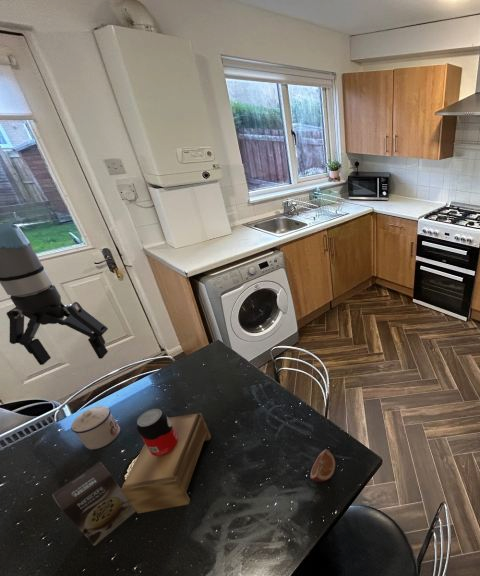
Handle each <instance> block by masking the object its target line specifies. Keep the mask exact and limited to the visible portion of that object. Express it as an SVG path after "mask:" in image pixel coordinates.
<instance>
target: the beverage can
mask: <svg viewBox="0 0 480 576" xmlns="http://www.w3.org/2000/svg"><path fill="white" fill-rule="evenodd" d="M168 418H169V417H168V415H167V413H166V412H164V411H162V410H161V409H160V408H152V409H149V410H147V411H145V412H143V413H141V415H139V417H138V419H137V420H136V423H137V424H136V430H137V432H138V434H139V436H140V437H141V439H142V440H143V443H144V444H146V446H147V447H148V449H149V451H150V453H151V454H152V455H154V456H161V455H164V454H167V453H168V452H170V451H171V450H172V449H173V448H174V447H175V446H176V444H177V442H178V437H177V435H176V433H175V431H174V429H173V427H172V425H171V423H170V421H169V419H168Z"/></svg>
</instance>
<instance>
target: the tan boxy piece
mask: <svg viewBox="0 0 480 576" xmlns="http://www.w3.org/2000/svg"><path fill="white" fill-rule="evenodd" d="M168 419H169V421H170V423H171V425H172V427H173V429H174V431H175V433H176V435H177V437H178V442H177V444H176V446H175V447H174V448H173V449H172V450H171V451H170V452H168V453H167V454H164V455H161V456H154V455H152V454H151V453H150V451H149V449H148V447H147V446H146V444H145V443H144V444H143V446H142V448H141V450H140V452H139V454H138V456H137V457H136V460H135V462H134V463H133V465H132V467H131V469H130V471H129V473H128V475H127V476H126V479H125V481H124V482H123V484H122V486H121V487H120V488H121V491H122V493H123V494H124V495H125V497H126V498H127V499H128V501H129V502H130V503H131V505H132V506H133V507H134V509H135V510H136V512H135V513H137V514H142V513H149V512H155V511H160V510H165V509H171V508H175V507H182V506H187V505H190V502H191V497H189V494H188V492H187V491H188V489H189V486H190V483H191V480H192V477H193V474H194V471H195V468H196V465H197V462H198V461H199V460H198V459H199V457H200V454H201V451H202V448H203V445H204V442H205V441H210V440H211V438H212V435H211V433H210V430H209V428H208V425H207V423H206V421H205V417H204V416H203V413H202V412H200V413H192V414H186V415H179V416H178V415H177V416H171V417H168Z"/></svg>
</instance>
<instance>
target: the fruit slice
mask: <svg viewBox="0 0 480 576" xmlns="http://www.w3.org/2000/svg"><path fill="white" fill-rule="evenodd" d="M335 470H336V459H335V457H334V455H333V454H332V452H331V451H330V450H329V449H327V448H325V449H324V450H322V451H321V452H320V453H319V454H318V455H317V458H316V460H315V461H314V463H313V465H312V467H311V469H310V473H309V474H310V475H309V478H310V479H311V480H312V481H314V482H317V483H321V482H326V481H328V480H329V479H331V478H332V476H333V475H334V473H335V472H336V471H335Z"/></svg>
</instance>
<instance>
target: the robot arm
mask: <svg viewBox="0 0 480 576" xmlns="http://www.w3.org/2000/svg"><path fill="white" fill-rule="evenodd" d="M0 285H1V287H2V288H3V290H4V291H5V293H6V294H7V296H10V301H12V303H13V304H14V306H15V307H13V308H11V309H10V310H9V311H7V312H6V316H7V318H8V319H9V343H10V344H12V345H15V344H20V345H21V346H23V347H24V348H25V350H26V351H27V352H28V353H29V354H30V355H32V356H33V358H34V359H35V360H36V361H37V364H39V366H44V365H45V364H47V362H49V361H50V359H51V358H52V357H51V356H50V354H49V352H48V351H47V350H46V348H45V346H44V345H43V344H42V342H41V340H40V339H39V338H36V334H37V332H38V331H39V328H40V326H46V325H48V324H50V325H57V324H58V325H61V326H66V327H68V328H70V329H73V330H74V331H76V332H78V333H80V334H82V335H84V336H86V337H89V338H88V339H87V341H88V343H89V344H90V346H91V347H92V349H93V351H94V353H95V354H96V357H97V358H98V359H100V360H101V359H103V358H104V357H105V356H106V355H107V354H108V353H109V351H108V349H107V347H106V340H105V338H104V337H103V336H104V334H105V333H106V332H107V331H108V330H109V328H108V327H107V326H106V325H105V324H103V323H102V322H101V321H99V320H98V319H97V318H96V317H95V316H93V315H91V314H90V313H89V312H88V311H87V310H85V309H84V308H83V307H82V305H81V304H80V303H79V302H77V301H74V302H73V303H72V304H64V303H63V302H62V297H61V295H60V293H59V291H58V289H57V287H56V286H55V284H53V281H52V279H51V277H50V276H49V274H48V272H47V271H46V269H45V268H44V265H43V264H42V262H41V260H40V259H39V257H38V255H37V253H36V251H35V249H34V247H33V246H32V244H31V241H30V240H29V239H28V238H27V236H26V235H25V234H24V232H23V231H22V229H21V227H19V225H17V224H14V223H10V222H0ZM25 317H26V318H28V319H29V320H28V322H27V324H26V326H27V327H26V328H25ZM65 317H66V318H65Z"/></svg>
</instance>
